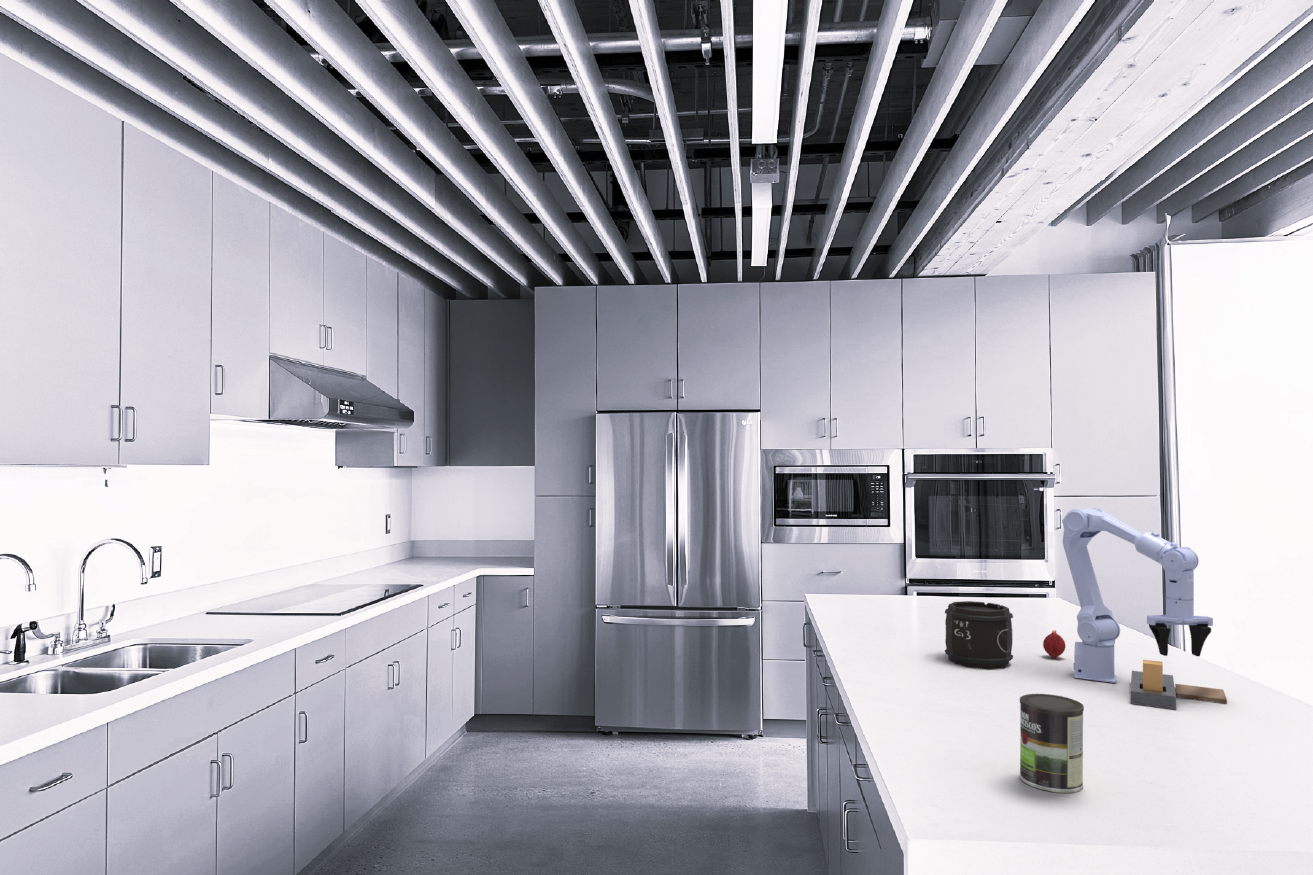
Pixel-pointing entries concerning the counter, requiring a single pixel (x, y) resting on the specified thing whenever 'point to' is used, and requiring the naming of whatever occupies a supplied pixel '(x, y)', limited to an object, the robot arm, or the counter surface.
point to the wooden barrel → (978, 634)
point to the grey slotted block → (1153, 692)
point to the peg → (1152, 675)
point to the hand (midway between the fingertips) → (1179, 655)
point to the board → (1200, 693)
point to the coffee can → (1051, 743)
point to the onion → (1054, 644)
